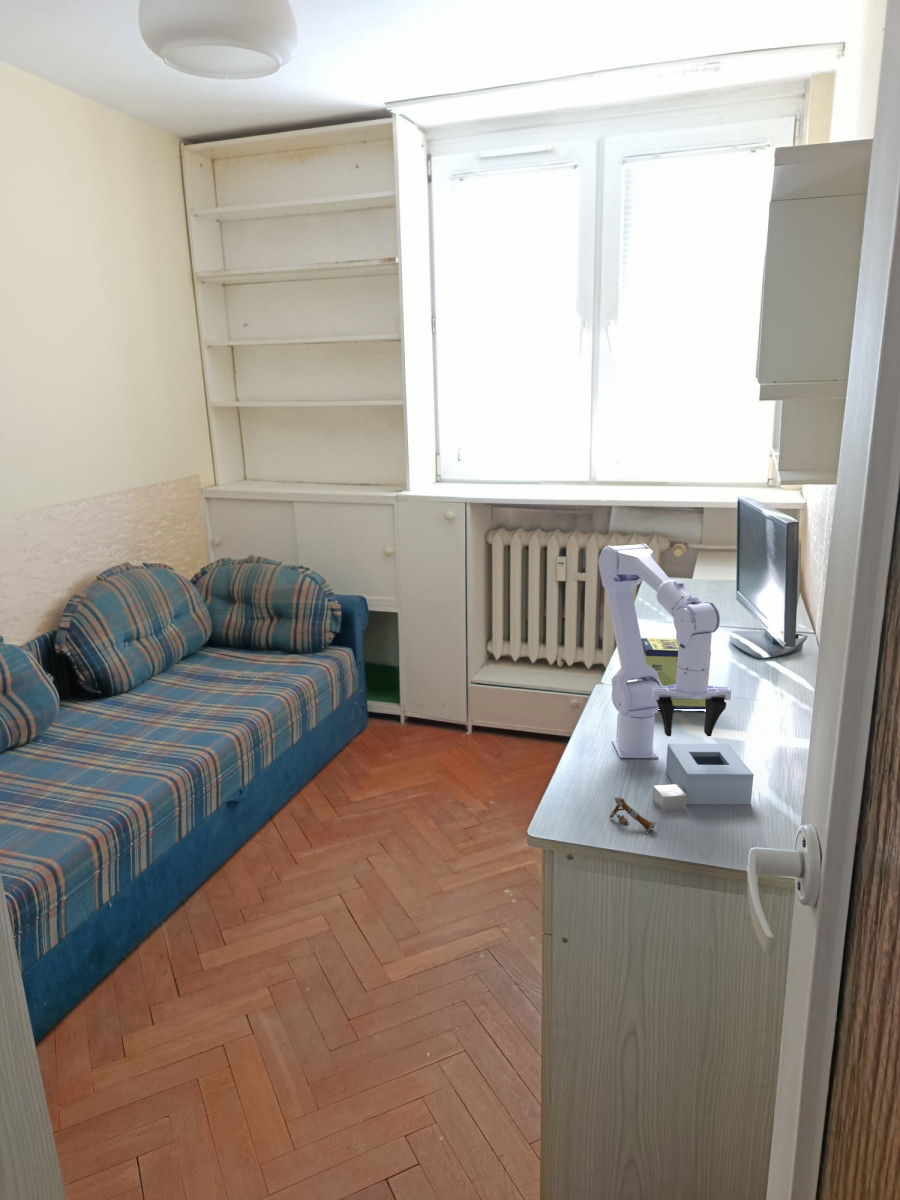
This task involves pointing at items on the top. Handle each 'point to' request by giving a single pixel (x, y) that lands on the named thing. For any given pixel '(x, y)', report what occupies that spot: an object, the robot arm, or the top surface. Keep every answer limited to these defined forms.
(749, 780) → the grey box with hole
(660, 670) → the protein box
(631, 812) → the wooden post with brackets
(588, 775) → the top surface
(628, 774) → the top surface
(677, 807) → the white square block
